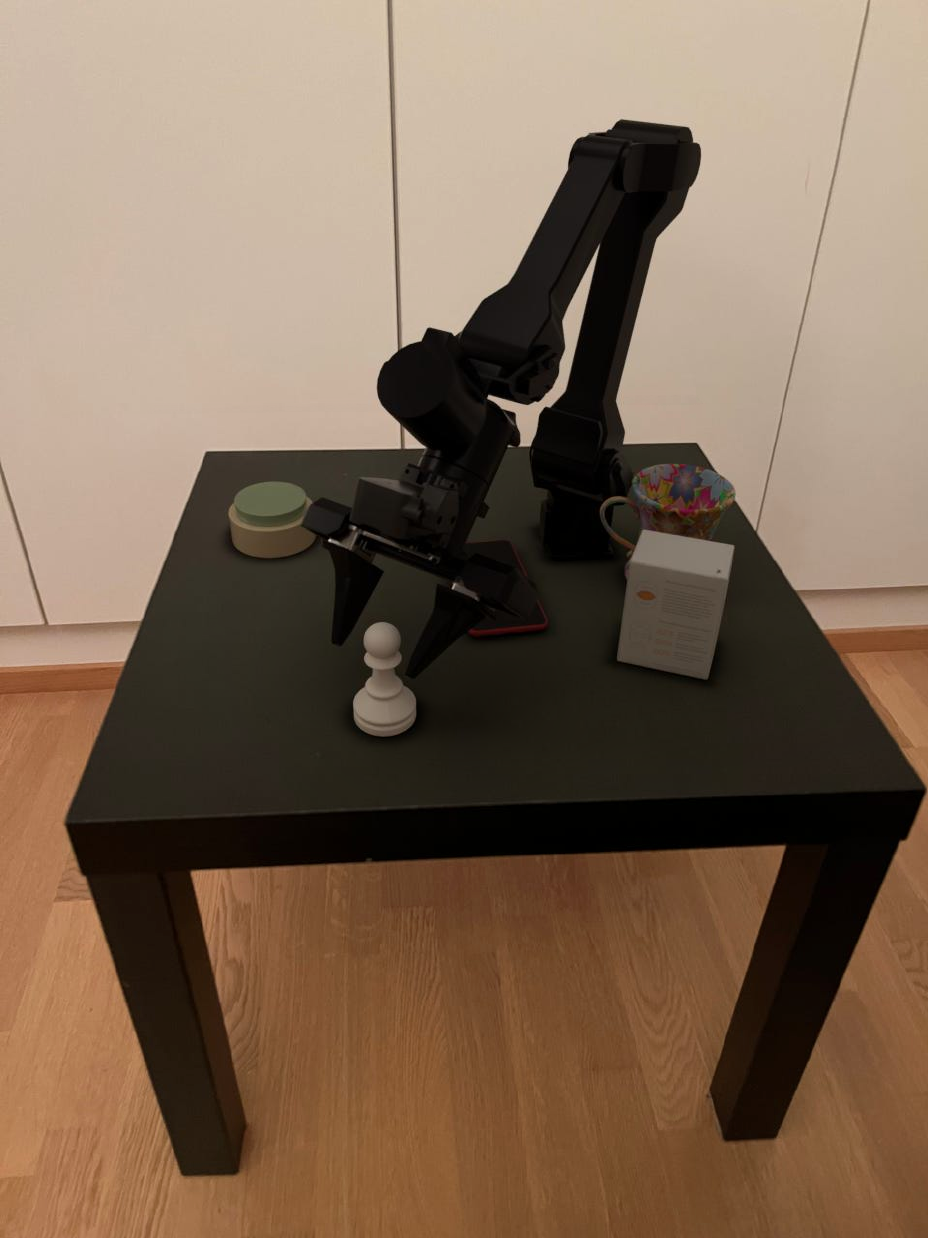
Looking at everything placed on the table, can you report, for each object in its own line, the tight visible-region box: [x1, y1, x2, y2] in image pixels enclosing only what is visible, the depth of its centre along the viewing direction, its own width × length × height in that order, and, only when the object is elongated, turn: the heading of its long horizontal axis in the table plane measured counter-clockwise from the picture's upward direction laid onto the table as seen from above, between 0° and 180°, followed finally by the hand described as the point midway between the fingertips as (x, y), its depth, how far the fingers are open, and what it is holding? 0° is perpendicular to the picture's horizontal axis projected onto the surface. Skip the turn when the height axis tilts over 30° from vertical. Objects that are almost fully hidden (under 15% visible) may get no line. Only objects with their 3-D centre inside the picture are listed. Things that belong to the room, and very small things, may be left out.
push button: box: [228, 481, 317, 559], centre depth 97 cm, size 9×9×4 cm
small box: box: [616, 530, 735, 681], centre depth 80 cm, size 8×6×10 cm
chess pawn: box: [352, 621, 417, 738], centre depth 73 cm, size 5×5×9 cm
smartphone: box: [450, 539, 548, 638], centre depth 91 cm, size 7×1×15 cm
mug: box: [600, 463, 736, 580], centre depth 90 cm, size 12×9×11 cm
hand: (371, 661), depth 71 cm, fingers open, 7 cm apart
